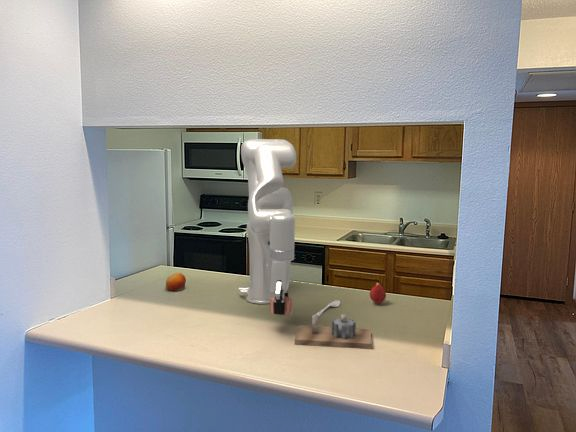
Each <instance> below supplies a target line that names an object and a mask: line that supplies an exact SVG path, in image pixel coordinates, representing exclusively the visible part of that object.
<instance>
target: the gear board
mask: <svg viewBox="0 0 576 432" xmlns="http://www.w3.org/2000/svg"><path fill="white" fill-rule="evenodd" d="M340 317H341V318H337V317H335V318H334V320H332V321H331V326H319V325H318V323H319V316H318V315H315V314H312V316H311V319H312V320H311V323H312V325H299V324H298V325H297V330H296V334H295V336H294V341H293V342H294V345H295V346H296V345H298V346H299V345H301V346H314V347H315V346H316V347H333V348H348V349H349V348H351V349H366V350H372V348H373V343H372V341H373V340H372V335H371V334H372V333H371V328H356V321H354V319H353V318H347V314H343V313H342V314H341V315H340Z"/></svg>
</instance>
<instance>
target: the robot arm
mask: <svg viewBox="0 0 576 432" xmlns="http://www.w3.org/2000/svg"><path fill="white" fill-rule="evenodd" d="M240 155H241V161H242V164H243V167H244V169H245V172H246V175H247V181H248V182H247V184H248V185H247V186H248V199H247V200H248V202H247V212H248V213H247V214H248V220H247V222H246V223H247V224H246V232H247V238H248V249H249V250H248V253H249V286H247V287H244V286H239V287H238V292H239V293H240V294H246V295H245V300H246V301H247V302H249V303H252V304H258V305H268V304H270V298H274V296H275V300H274V314H273V315H276V314H279V315H281V316H285V315H284V314H285V302H284V296H286V297H289V288H290V287H289V286H290V285H291V284H290V283H291V262H292V261H294V260H295V234H296V233H295V231H296V227H295V225H296V218H295V214H294V212H293V198H292V194H291V191H290V190H289V189H288V188H287V187H283V185H284V177H283V170H282V168H283V169H285V168H286V169H287V168H288V169H291V168H294V166H296V162H297V152H296V149H295V147H294V145H293V144H292V143H291V142H289V141H288V140H286V139H280V138H279V139H277V138H275V139H274V138H273V139H272V138H269V139H268V138H267V139H266V138H251V139H247V140H244V142H243V141H242V144H241V147H240ZM281 295H282V296H281Z"/></svg>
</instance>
